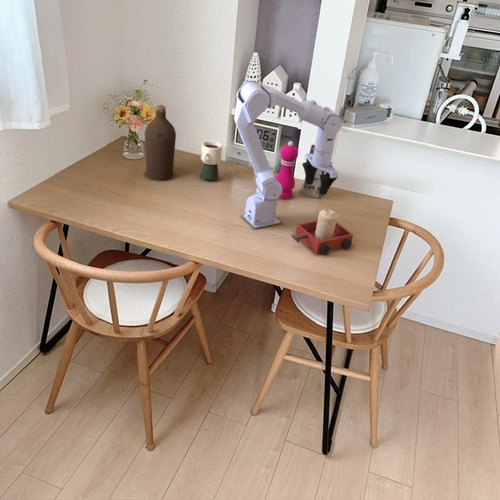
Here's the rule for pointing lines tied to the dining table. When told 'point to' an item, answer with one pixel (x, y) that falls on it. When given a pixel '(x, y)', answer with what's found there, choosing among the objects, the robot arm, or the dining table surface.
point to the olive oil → (160, 146)
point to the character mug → (210, 159)
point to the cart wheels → (325, 247)
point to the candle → (325, 225)
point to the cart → (315, 245)
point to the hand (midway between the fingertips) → (316, 189)
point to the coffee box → (313, 188)
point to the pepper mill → (287, 170)
